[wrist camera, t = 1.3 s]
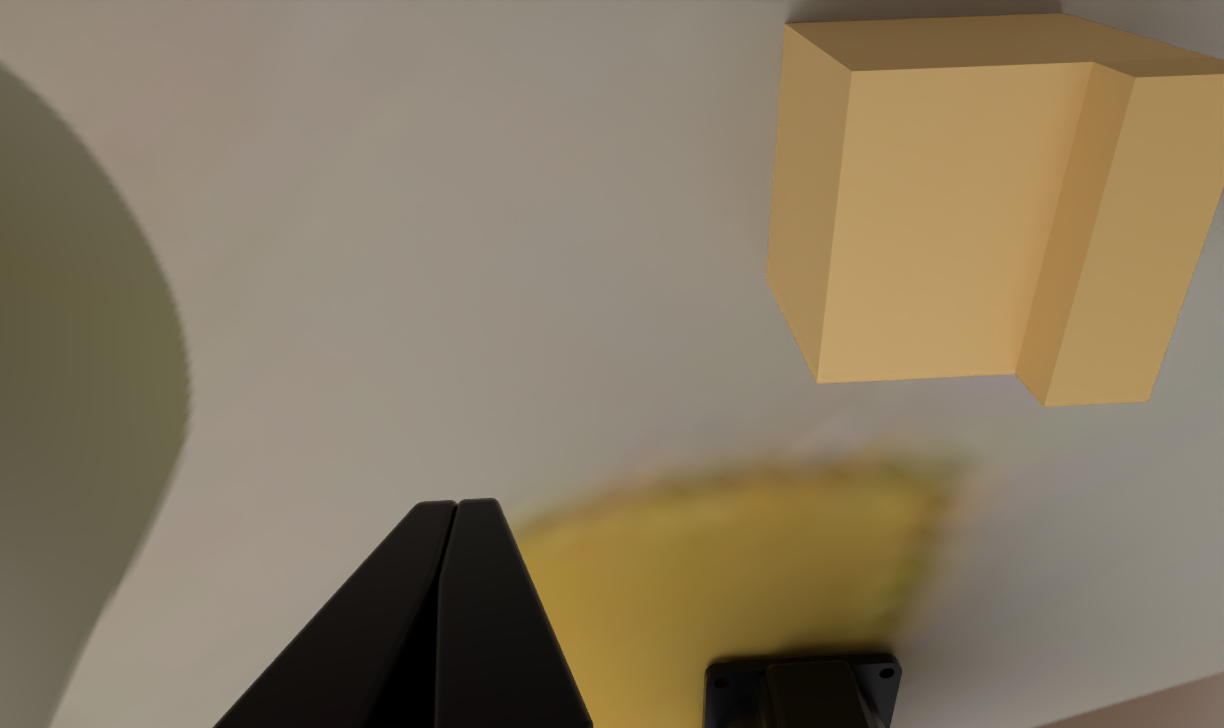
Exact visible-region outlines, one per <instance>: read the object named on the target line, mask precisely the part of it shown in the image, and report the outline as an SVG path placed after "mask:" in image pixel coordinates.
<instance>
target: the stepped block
mask: <svg viewBox="0 0 1224 728" xmlns="http://www.w3.org/2000/svg"><path fill="white" fill-rule="evenodd" d="M1223 188H1224V60H1220V59H1217V58H1214V57H1210V56H1207V55H1203V54H1200V53H1197V52H1193V51H1190V50H1186V49H1183V48H1180V47H1176V46H1173V45H1169V44H1166V43H1163V42H1159V41H1156V40H1152V39H1149V38H1146V37H1142V36H1139V35H1135V34H1132V33H1129V32H1125V31H1122V30H1118V29H1115V28H1112V27H1108V26H1105V25H1101V24H1098V23H1095V22H1091V21H1088V20H1084V19H1081V18H1078V17H1074V16H1071V15H1068V14H1064V13H1048V14H1022V15H995V16H969V17H942V18H916V19H890V20H863V21H837V22H810V23H785V27H784V41H783V55H782V69H781V83H780V96H779V110H778V124H777V138H776V152H775V166H774V179H773V193H772V207H771V221H770V235H769V249H768V262H767V276H766V280H767V282H768V284H769V286H770V289H771V291H772V293H773V295H774V297H775V299H776V301H777V303H778V305H779V307H780V309H781V311H782V313H783V315H784V317H785V319H786V321H787V324H788V326H789V328H790V330H791V332H792V334H793V336H794V338H795V340H796V342H797V344H798V346H799V348H800V350H801V352H802V354H803V356H804V359H805V361H806V363H807V365H808V367H809V369H810V371H811V373H812V375H813V377H814V379H815V381H816V383H817V384H821V383H841V382H861V381H882V380H902V379H922V378H942V377H963V376H983V375H1003V374H1015V375H1016V376H1017V377H1018V378H1019V379H1020V381H1021V382H1022V383H1023V384H1024V385H1025V386H1026V387H1027V388H1028V390H1029V391H1030V392H1031V393H1032V394H1033V395H1034V396H1035V397H1036V399H1037V400H1038V401H1039V402H1040V403H1041V404H1042V405H1043V406H1044V407H1052V406H1072V405H1092V404H1112V403H1131V402H1148V401H1149V398H1150V395H1151V392H1152V389H1153V387H1154V384H1155V381H1156V378H1157V375H1158V372H1159V370H1160V367H1161V364H1162V361H1163V358H1164V355H1165V353H1166V350H1167V347H1168V344H1169V341H1170V338H1171V336H1172V333H1173V330H1174V327H1175V324H1176V321H1177V319H1178V316H1179V313H1180V310H1181V307H1182V304H1183V302H1184V299H1185V296H1186V293H1187V290H1188V287H1189V285H1190V282H1191V279H1192V276H1193V273H1194V270H1195V268H1196V265H1197V262H1198V259H1199V256H1200V253H1201V251H1202V248H1203V245H1204V242H1205V239H1206V236H1207V234H1208V231H1209V228H1210V225H1211V222H1212V219H1213V217H1214V214H1215V211H1216V208H1217V205H1218V202H1219V200H1220V197H1221V194H1222V191H1223Z"/></svg>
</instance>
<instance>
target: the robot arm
mask: <svg viewBox="0 0 1224 728" xmlns="http://www.w3.org/2000/svg"><path fill="white" fill-rule="evenodd" d="M901 674H902V669H901V666H900V664H899V661H898V659H897V658H896V656H895V655H892V654H887V653H882V654H864V655H847V656H829V657H812V658H794V659H777V660H759V661H742V662H725V663H716V664H713V665H711V666H709V667H708V668H707V669H706V671H705V676H704V700H703V723H702V728H890V724H891V719H892V715H893V710H894V706H895V701H896V697H897V692H898V688H899V683H900V679H901ZM213 728H593V722H592V720H591V717H590V715H589V713H588V710H587V708H586V706H585V703H584V701H583V699H582V696H581V694H580V692H579V689H578V687H577V685H576V682H575V680H574V678H573V675H572V673H571V670H570V668H569V666H568V663H567V661H566V659H565V656H564V654H563V652H562V649H561V647H560V645H559V642H558V640H557V638H556V635H555V633H554V631H553V628H552V626H551V624H550V621H549V619H548V617H547V614H546V612H545V610H544V607H543V605H542V602H541V600H540V598H539V595H538V593H537V591H536V588H535V586H534V584H533V581H532V579H531V577H530V574H529V572H528V570H527V567H526V565H525V563H524V560H523V558H522V556H521V553H520V551H519V549H518V546H517V544H516V542H515V539H514V537H513V534H512V532H511V530H510V527H509V525H508V523H507V520H506V518H505V516H504V513H503V511H502V509H501V506H500V504H499V502H498V501H497V500H496V499H494V498H480V499H464V500H462V501H460V502H459V503H458V504H457V503H456V502H455V501H453V500H442V501H424V502H420V503H418V504H416V505H415V506H414V507H413V508H412V509H411V510H410V511H409V512H408V514H407V515H406V516H405V517H404V518H403V519H402V520H401V521H400V522H399V523H398V525H397V526H396V527H395V528H394V529H393V530H392V531H391V532H390V533H389V534H388V536H387V537H386V538H385V539H384V540H383V541H382V542H381V543H380V544H379V545H378V547H377V548H376V549H375V550H374V551H373V552H372V553H371V554H370V555H369V556H368V558H367V559H366V560H365V561H364V562H363V563H362V564H361V565H360V566H359V567H358V568H357V570H356V571H355V572H354V573H353V574H352V575H351V576H350V577H349V578H348V579H347V581H346V582H345V583H344V584H343V585H342V586H341V587H340V588H339V589H338V590H337V592H336V593H335V594H334V595H333V596H332V597H331V598H330V599H329V600H328V601H327V603H326V604H325V605H324V606H323V607H322V608H321V609H320V610H319V611H318V612H317V614H316V615H315V616H314V617H313V618H312V619H311V620H310V621H309V622H308V623H307V624H306V626H305V627H304V628H303V629H302V630H301V631H300V632H299V633H298V634H297V635H296V637H295V638H294V639H293V640H292V641H291V642H290V643H289V644H288V645H287V646H286V648H285V649H284V650H283V651H282V652H281V653H280V654H279V655H278V656H277V657H276V659H275V660H274V661H273V662H272V663H271V664H270V665H269V666H268V667H267V668H266V670H265V671H264V672H263V673H262V674H261V675H260V676H259V677H258V678H257V679H256V680H255V682H254V683H253V684H252V685H251V686H250V687H249V688H248V689H247V690H246V691H245V693H244V694H243V695H242V696H241V697H240V698H239V699H238V700H237V701H236V702H235V704H234V705H233V706H232V707H231V708H230V709H229V710H228V711H227V712H226V713H225V715H224V716H223V717H222V718H221V719H220V720H219V721H218V722H217V723H216V724H215V726H214V727H213Z"/></svg>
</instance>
